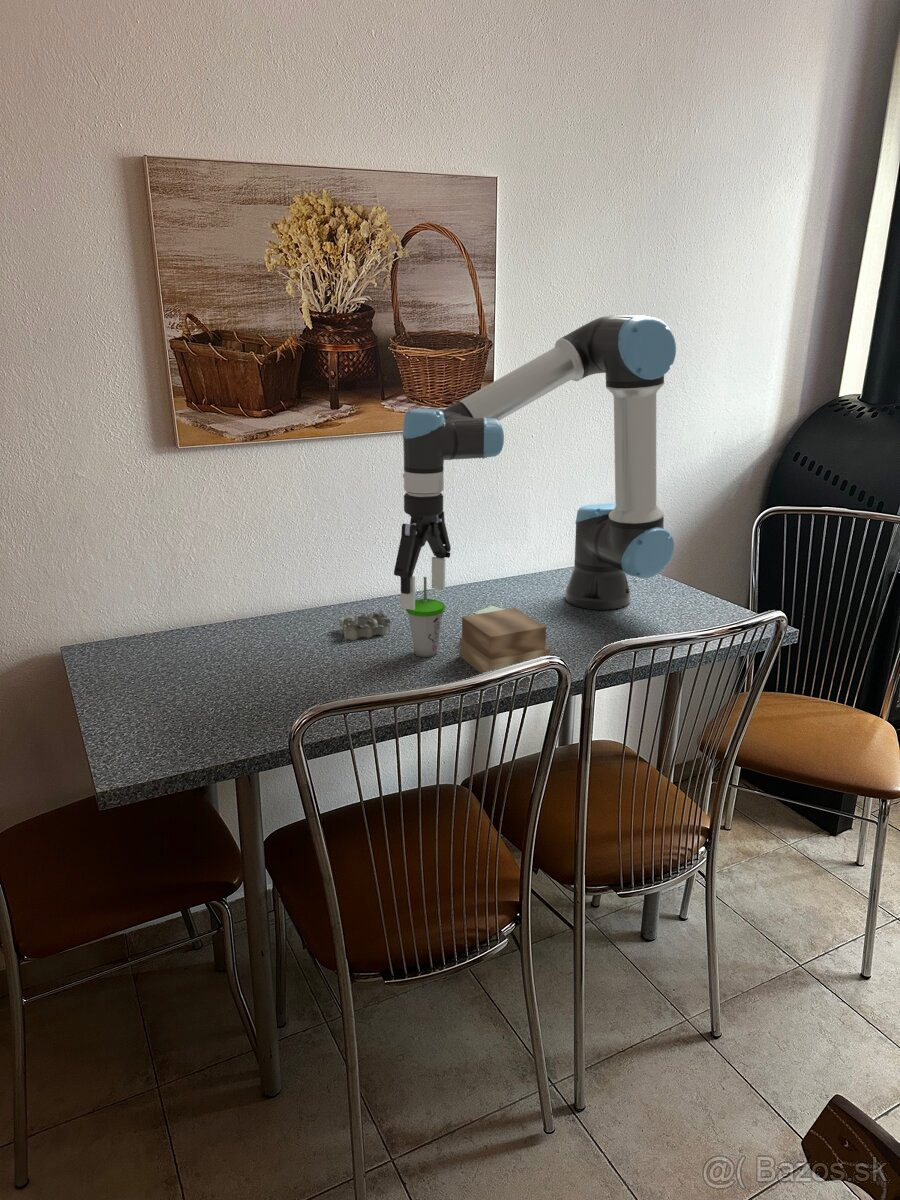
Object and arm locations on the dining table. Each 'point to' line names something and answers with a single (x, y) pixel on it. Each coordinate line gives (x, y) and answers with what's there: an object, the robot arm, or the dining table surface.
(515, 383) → the robot arm
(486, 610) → the block
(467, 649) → the block
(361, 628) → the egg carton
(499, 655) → the tower top
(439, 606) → the cup
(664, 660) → the dining table surface
